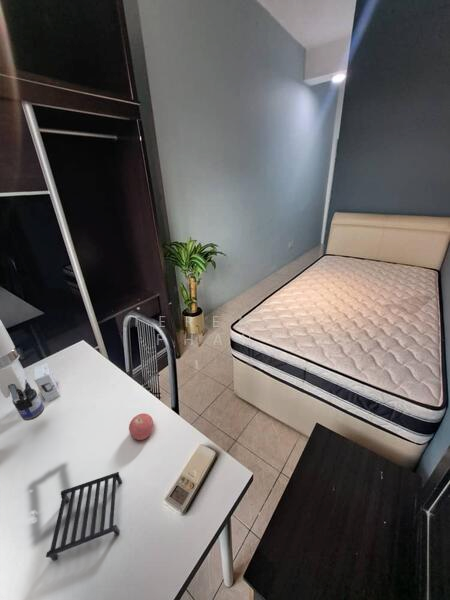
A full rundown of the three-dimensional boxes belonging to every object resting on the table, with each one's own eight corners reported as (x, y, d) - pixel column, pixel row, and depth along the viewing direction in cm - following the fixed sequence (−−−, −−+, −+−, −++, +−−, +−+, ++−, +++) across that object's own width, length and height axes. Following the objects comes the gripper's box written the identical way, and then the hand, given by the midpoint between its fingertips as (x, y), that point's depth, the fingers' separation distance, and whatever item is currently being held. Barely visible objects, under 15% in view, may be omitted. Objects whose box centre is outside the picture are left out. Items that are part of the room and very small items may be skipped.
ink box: (44, 389, 101) (32, 367, 95) (58, 383, 103) (47, 361, 98) (46, 403, 94) (33, 380, 89) (61, 396, 97) (49, 374, 91)
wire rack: (54, 565, 55) (45, 556, 52) (68, 500, 66) (61, 491, 63) (120, 538, 58) (115, 529, 56) (123, 481, 69) (118, 471, 67)
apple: (134, 449, 77) (127, 433, 73) (131, 429, 83) (125, 414, 79) (157, 438, 80) (152, 422, 76) (153, 420, 85) (148, 404, 82)
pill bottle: (18, 418, 80) (3, 394, 75) (36, 403, 85) (23, 379, 80) (31, 423, 78) (16, 399, 73) (49, 408, 83) (36, 384, 78)
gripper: (-12, 347, 75) (13, 389, 84) (-20, 381, 63) (10, 426, 71) (18, 338, 79) (39, 379, 87) (16, 368, 66) (41, 413, 75)
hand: (26, 400), depth 79 cm, fingers closed on pill bottle, 6 cm apart
